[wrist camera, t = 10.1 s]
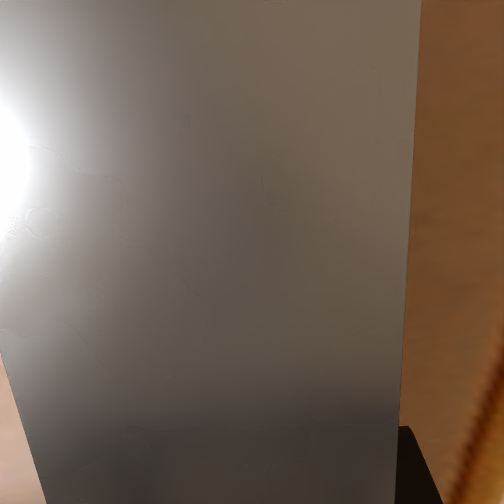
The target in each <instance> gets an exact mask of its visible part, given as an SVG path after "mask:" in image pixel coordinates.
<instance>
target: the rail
mask: <svg viewBox="0 0 504 504" xmlns="http://www.w3.org/2000/svg"><path fill="white" fill-rule="evenodd" d="M421 2H422V0H0V353H1V357H2V360H3V363H4V366H5V370H6V373H7V376H8V379H9V383H10V386H11V389H12V392H13V396H14V399H15V402H16V405H17V409H18V412H19V415H20V418H21V421H22V425H23V428H24V431H25V434H26V438H27V441H28V444H29V447H30V451H31V454H32V457H33V460H34V464H35V467H36V470H37V473H38V477H39V480H40V483H41V486H42V490H43V493H44V496H45V499H46V502H47V504H394V499H395V481H396V462H397V444H398V425H399V407H400V389H401V370H402V352H403V333H404V315H405V297H406V278H407V260H408V241H409V223H410V205H411V186H412V168H413V149H414V131H415V113H416V94H417V76H418V57H419V39H420V21H421Z"/></svg>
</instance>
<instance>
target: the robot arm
mask: <svg viewBox="0 0 504 504" xmlns="http://www.w3.org/2000/svg"><path fill="white" fill-rule="evenodd" d="M394 504H443V502H442V500H441V497H440V495H439V493H438V490H437V488H436V486H435V483H434V481H433V478H432V476H431V474H430V471H429V469H428V467H427V464H426V462H425V460H424V457H423V455H422V453H421V450H420V448H419V446H418V443H417V441H416V439H415V436H414V434H413V432H412V430H411V429H410V428H409V427H408V426H399V427H398V444H397V462H396V481H395V499H394Z"/></svg>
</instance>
